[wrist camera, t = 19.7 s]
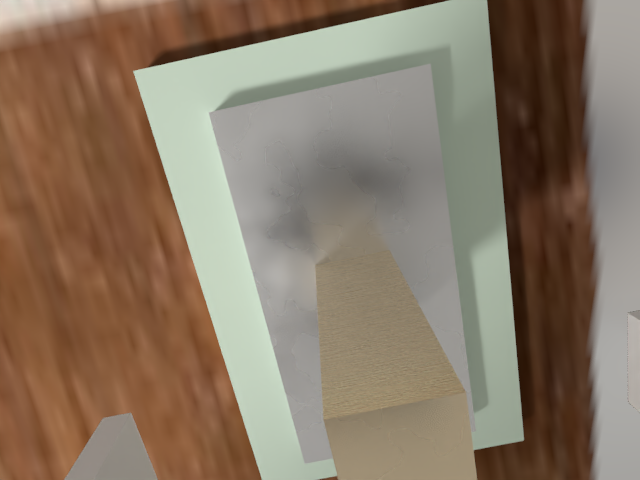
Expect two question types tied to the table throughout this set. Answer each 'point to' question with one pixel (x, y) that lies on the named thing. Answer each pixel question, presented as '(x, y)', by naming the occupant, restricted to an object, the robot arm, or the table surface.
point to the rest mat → (460, 178)
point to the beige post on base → (357, 272)
